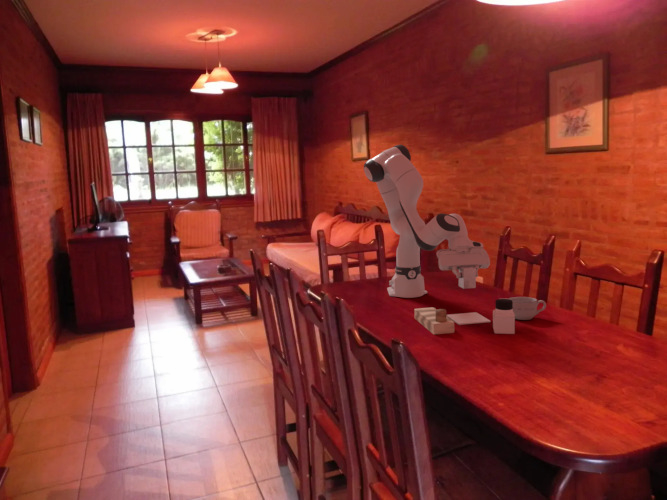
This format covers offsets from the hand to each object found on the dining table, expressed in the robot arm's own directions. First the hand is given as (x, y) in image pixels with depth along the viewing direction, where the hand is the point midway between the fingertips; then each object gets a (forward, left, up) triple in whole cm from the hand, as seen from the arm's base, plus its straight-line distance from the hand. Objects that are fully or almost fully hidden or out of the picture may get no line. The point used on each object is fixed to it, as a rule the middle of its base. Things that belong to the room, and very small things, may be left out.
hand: (467, 276), depth 210 cm
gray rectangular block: (-1, 0, -4) cm, 4 cm away
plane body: (+3, -15, -17) cm, 23 cm away
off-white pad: (-1, +1, -17) cm, 17 cm away
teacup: (+5, +23, -18) cm, 29 cm away
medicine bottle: (+17, +7, -18) cm, 26 cm away
